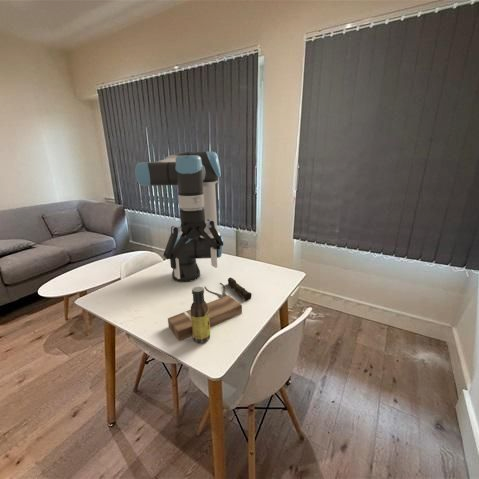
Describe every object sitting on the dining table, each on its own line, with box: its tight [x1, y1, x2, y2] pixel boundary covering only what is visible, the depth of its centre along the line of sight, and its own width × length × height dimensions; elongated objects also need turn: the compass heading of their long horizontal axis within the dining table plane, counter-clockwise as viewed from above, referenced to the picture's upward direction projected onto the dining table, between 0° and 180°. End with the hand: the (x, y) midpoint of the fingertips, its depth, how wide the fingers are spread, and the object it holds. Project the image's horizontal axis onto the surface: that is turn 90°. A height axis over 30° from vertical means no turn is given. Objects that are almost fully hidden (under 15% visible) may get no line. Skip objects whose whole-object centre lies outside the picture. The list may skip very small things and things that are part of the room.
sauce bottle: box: [190, 286, 211, 344], centre depth 92 cm, size 6×6×20 cm
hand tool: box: [227, 277, 252, 302], centre depth 126 cm, size 19×4×5 cm, turn 28°
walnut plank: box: [167, 294, 243, 342], centre depth 105 cm, size 10×28×4 cm, turn 126°
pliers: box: [204, 282, 229, 299], centre depth 126 cm, size 10×1×20 cm
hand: (196, 271), depth 87 cm, fingers open, 13 cm apart
